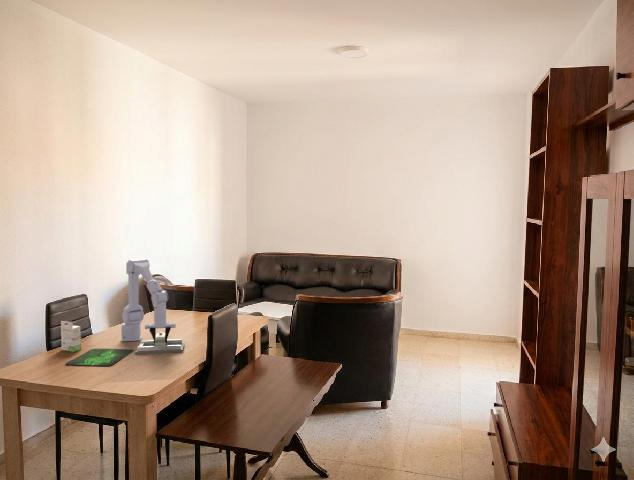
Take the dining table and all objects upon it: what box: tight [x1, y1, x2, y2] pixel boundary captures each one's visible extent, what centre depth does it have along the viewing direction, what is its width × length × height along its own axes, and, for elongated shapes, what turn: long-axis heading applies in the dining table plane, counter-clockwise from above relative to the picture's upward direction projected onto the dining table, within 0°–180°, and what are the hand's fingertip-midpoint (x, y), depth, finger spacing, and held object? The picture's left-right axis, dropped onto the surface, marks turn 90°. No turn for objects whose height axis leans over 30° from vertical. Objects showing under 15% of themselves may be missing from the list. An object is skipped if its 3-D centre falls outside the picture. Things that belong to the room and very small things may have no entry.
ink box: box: [60, 320, 82, 353], centre depth 254 cm, size 9×5×15 cm, turn 65°
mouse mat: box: [65, 348, 135, 367], centre depth 243 cm, size 27×22×1 cm
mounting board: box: [135, 342, 185, 355], centre depth 256 cm, size 22×13×1 cm, turn 101°
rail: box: [137, 338, 183, 351], centre depth 256 cm, size 20×12×2 cm, turn 101°
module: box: [155, 331, 166, 346], centre depth 256 cm, size 5×8×7 cm, turn 12°
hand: (160, 342), depth 256 cm, fingers open, 5 cm apart
